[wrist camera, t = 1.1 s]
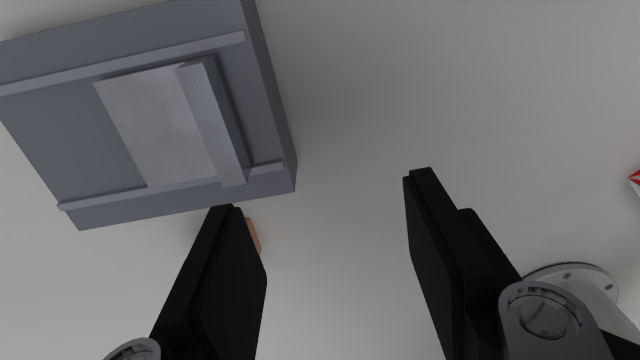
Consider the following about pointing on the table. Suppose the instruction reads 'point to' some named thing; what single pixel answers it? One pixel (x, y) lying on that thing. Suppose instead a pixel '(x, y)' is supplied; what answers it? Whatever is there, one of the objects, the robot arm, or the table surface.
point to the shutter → (179, 122)
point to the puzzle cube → (635, 182)
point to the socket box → (101, 133)
